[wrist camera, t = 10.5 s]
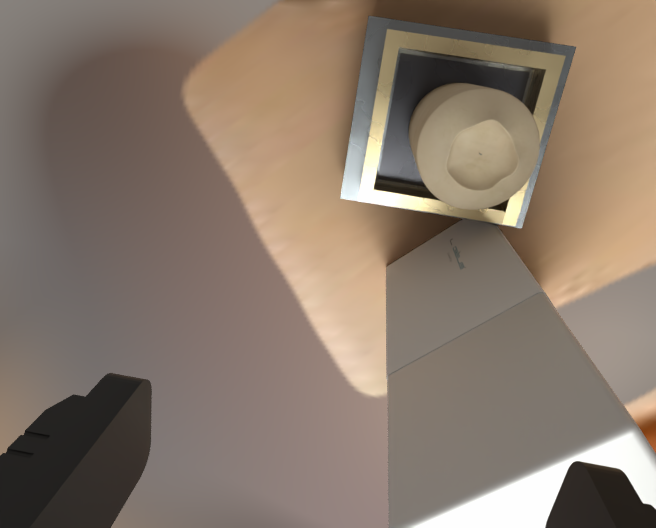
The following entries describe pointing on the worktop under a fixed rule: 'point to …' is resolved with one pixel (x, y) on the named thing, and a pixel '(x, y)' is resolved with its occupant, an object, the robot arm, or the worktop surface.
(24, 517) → the robot arm
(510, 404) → the tall white carton
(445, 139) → the candle
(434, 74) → the grey open box
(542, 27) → the worktop surface
